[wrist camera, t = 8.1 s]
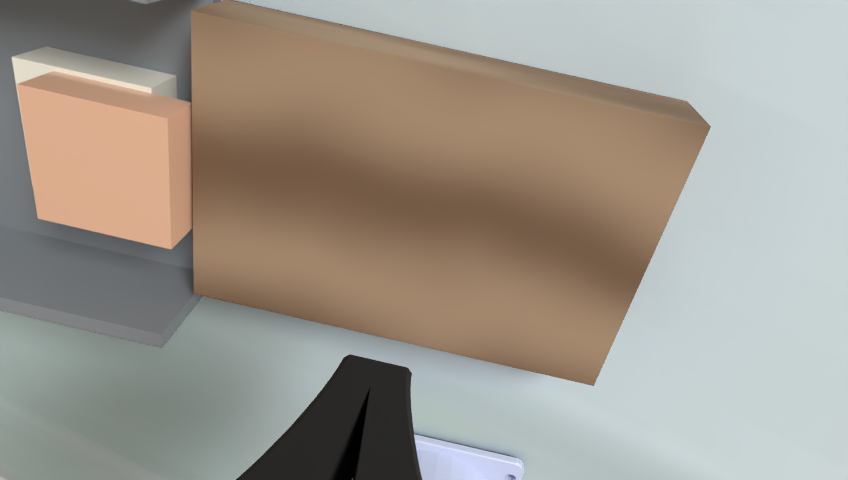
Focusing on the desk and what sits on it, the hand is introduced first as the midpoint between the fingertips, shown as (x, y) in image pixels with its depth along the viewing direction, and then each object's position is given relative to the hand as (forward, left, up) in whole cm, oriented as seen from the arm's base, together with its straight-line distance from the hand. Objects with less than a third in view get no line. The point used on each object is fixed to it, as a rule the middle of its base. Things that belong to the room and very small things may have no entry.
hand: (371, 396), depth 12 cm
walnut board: (0, 0, -10) cm, 10 cm away
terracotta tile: (0, +10, -8) cm, 13 cm away
